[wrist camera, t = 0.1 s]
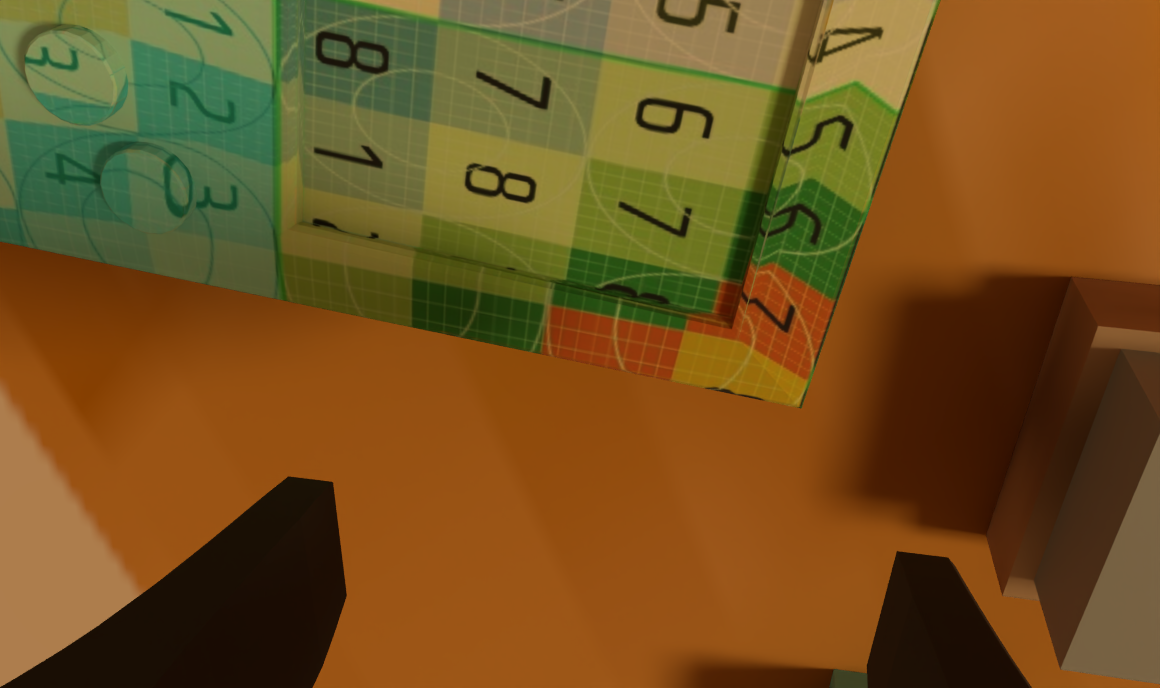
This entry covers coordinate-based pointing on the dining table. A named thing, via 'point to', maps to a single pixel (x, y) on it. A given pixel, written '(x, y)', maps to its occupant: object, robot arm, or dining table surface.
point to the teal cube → (848, 679)
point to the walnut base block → (1064, 417)
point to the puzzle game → (475, 163)
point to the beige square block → (1111, 536)
